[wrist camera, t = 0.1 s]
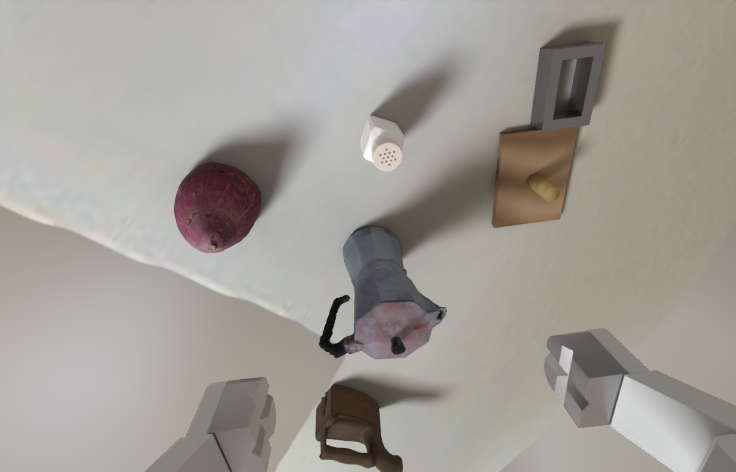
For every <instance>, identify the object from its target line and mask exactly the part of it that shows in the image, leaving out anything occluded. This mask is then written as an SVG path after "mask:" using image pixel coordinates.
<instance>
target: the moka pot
mask: <svg viewBox="0 0 736 472" xmlns="http://www.w3.org/2000/svg"><path fill="white" fill-rule="evenodd" d="M343 255H344V262H345V265H346V268H347V270H348V273H349V275H350V278H351V281H352V283H353V286H354V289H355V300H354V334H352V335H350V336H347V337H345V338H343V339H342V340H341V341H340V342H339V343H336V344H332V343H330V338H331V336H332V334H333V331H332V330H333V327H334V323H335V320H336V313H337V312H338V309H339V307H340V305H341V304H343V303H345V302H348V301H349V299H351V298H350V297H349V296H348V295H344V296H343V297H340V298H336V299H335V300H334V301H333V304H332V307H331V309H330V313H329V316H328V318H327V321H326V322H327V323H326V324H325V327H324V331H323V335H322V336H321V337H320V338H321V339H320V343H319V345H320V347H321V348H322V349H324V350H325V351H326V352H329V353H330V355H334V357H335V358H338V357H341V356H343V355H344V354H346V353H349V354H352V353H355V352H359V351H360V350H361V351H363V352H365V353H366V354H368V355H369V356H371V357H372V358H374V359H390V358H404V357H406V356H408V355H409V354H411V353H412V352H414V351H415V350H417V349H418V348H420V347H421V346H423V345H424V344H426V343H427V342H428V341H429V339H430V334H431V330H432V328H433V327H435V326H436V325H438V324H439V323H440V322H441V321H442V319H443V318H444V317H445V315H446V312H447V310H446V307H439V306H438V305H436V304H435V303H433V302H432V301H431V300H429V299H428V298H426V297H425V296H423V295H422V294H420V293H419V292H418V290H417V289H416V287H415V285H414V284H413V282H412V281H411V280H410V279H409V278H408V277H407V276H406V275H407V272H406V269H404V266H403V261H402V255H401V249H400V244H399V241H398V239H397V238H396V237H395V236H394V234H393V233H391V232H390V231H389V230H387V229H385V228H381V227H373V226H372V227H366V228H363V229H361V230H359V231H356V232H355V233H353V234H352V235H351V236H350V237H349V239H348V240H347V242H346V244H345V245H344V247H343Z"/></svg>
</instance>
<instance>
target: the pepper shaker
mask: <svg viewBox="0 0 736 472" xmlns="http://www.w3.org/2000/svg"><path fill="white" fill-rule="evenodd" d="M403 143H404V135H403V133H402V132H401V130H400V129H399V127H398V125H397V124H396V123H394V122H391V121H388V120H385V119H382V118H379V117H375V116H370V117H369V118H368V119H367V122H366V125H365V129H364V132H363V135H362V138H361V146H362V151H363V156H364V158H365V159H366V160H368V161H371V162H374V163H375V165H376V167H377V168H379V169H380V170H382V171H392V170H394V169H396V168H398V166H399V165H400V163H401V162H402V156H403V153H402V151H401V149H402V147H403Z"/></svg>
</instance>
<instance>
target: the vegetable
mask: <svg viewBox="0 0 736 472" xmlns="http://www.w3.org/2000/svg"><path fill="white" fill-rule="evenodd" d="M260 203H261V192H260V191H259V190H258V187H257V186H256V185H255V183H254V182H253V181H252V180H251V179H250V178H249V177H248V176H247V175H246V174H245V173H243V172H242V171H240V170H239V169H237V168H235V167H231V166H227V165H223V164H218V163H206V164H203V165H201V166H198V168H196V169H195V170H193V171H192V172H190V173H189V174H188V175H187V176H186V177H185V178H184V180H183V181H182V182H181V184H180V186H179V188H178V191H177V194H176V199H175V205H174V214H175V218H176V223H177V226H178V229H179V231H180V232H181V234H182V235H183V237H184V238H185V239H186V241H187V242H188V243H189V244H190V245H192V246H193V247H194V248H196V249H198V250H199V251H202V252H205V253H216V252H221V251H223V250H225V249H227V248H229V247H231V246H233V245H235V244H236V243H238V242H240V241H241V240H242V239H243V238H244V237H246V236H247V234H248V233H249V232H250V230H251V228H252V227H253V225H254V223H255V221H256V218H257V216H258V212H259V208H260Z"/></svg>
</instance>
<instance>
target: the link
mask: <svg viewBox="0 0 736 472" xmlns="http://www.w3.org/2000/svg"><path fill="white" fill-rule="evenodd" d="M606 44H607V43H599V42H585V43H577V44H570V45H562V46H554V47H546V48H540V54H539V61H538V69H537V77H536V85H535V92H534V100H533V108H532V115H531V123H530V125H531V126H533V127H535V128H537V129H539V130H540V131H546V130H554V129H562V128H569V127H577V126H584V125H589V123H590V119H591V114H592V109H593V105H594V100H595V95H596V91H597V86H598V81H599V77H600V72H601V67H602V63H603V58H604V53H605V49H606ZM569 59H577V63H576V69H575V74H574V80H573V85H572V91H571V96H570V102H569V107H568V111H565V112H557V113H554V109H555V103H556V97H557V91H558V84H559V78H560V72H561V66H562V60H569Z"/></svg>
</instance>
